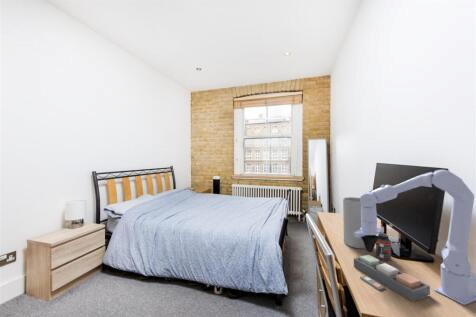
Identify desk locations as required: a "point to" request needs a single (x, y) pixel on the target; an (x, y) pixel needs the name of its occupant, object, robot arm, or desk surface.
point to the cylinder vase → (352, 221)
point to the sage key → (369, 260)
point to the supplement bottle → (383, 247)
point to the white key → (387, 269)
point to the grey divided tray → (393, 281)
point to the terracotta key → (408, 281)
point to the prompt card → (372, 283)
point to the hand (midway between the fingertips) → (369, 251)
